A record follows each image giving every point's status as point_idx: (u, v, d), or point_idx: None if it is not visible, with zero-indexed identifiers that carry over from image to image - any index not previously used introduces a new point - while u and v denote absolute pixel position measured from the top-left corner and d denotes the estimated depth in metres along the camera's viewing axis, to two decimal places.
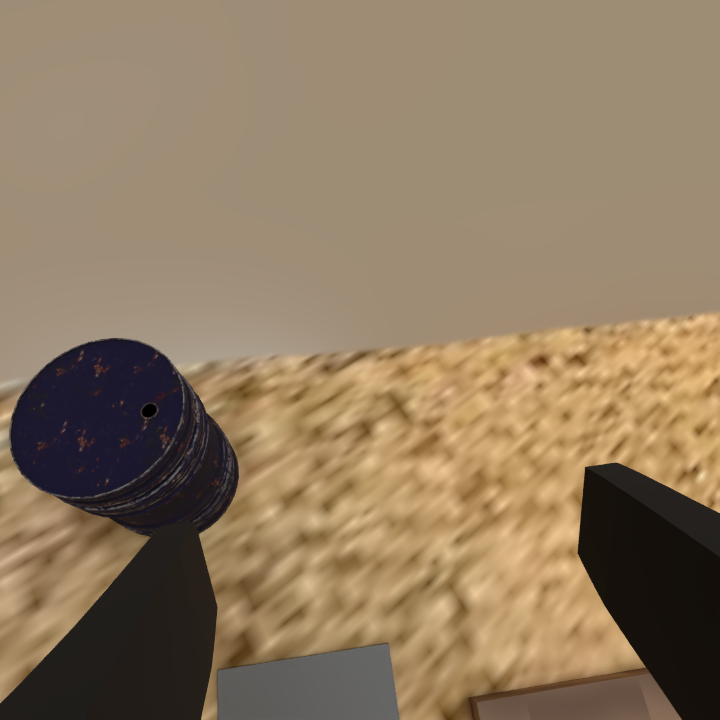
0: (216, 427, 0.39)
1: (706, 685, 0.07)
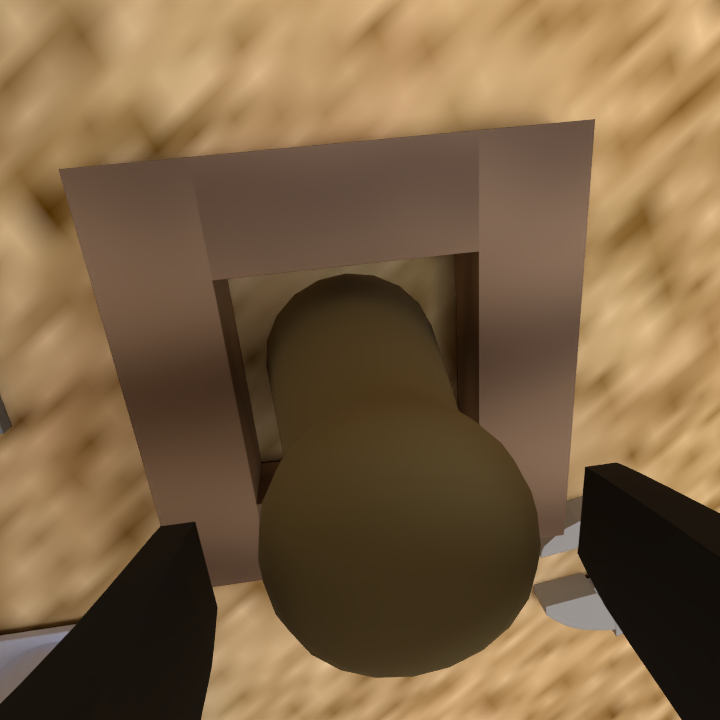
0: None
1: (706, 685, 0.07)
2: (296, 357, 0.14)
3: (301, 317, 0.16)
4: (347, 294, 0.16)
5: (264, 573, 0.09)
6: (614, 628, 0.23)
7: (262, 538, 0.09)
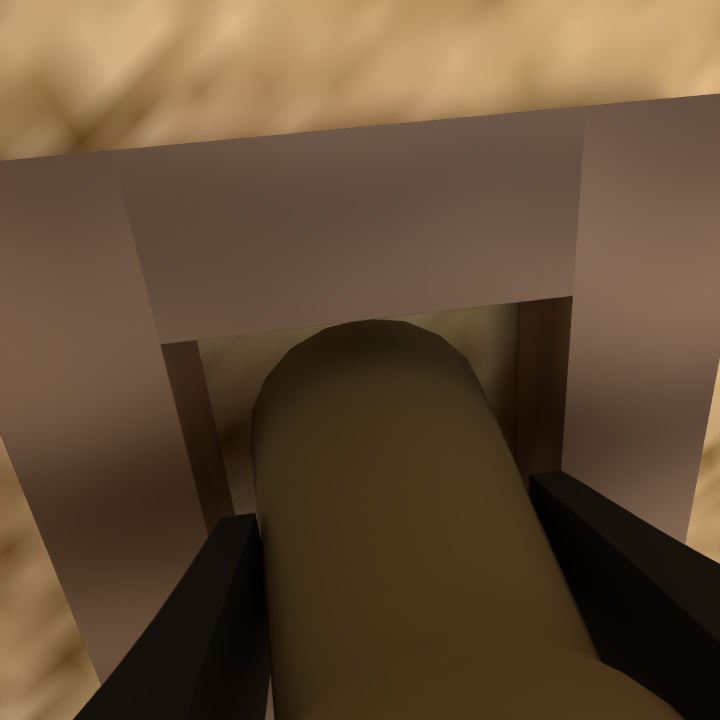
0: None
1: None
2: (291, 470, 0.09)
3: (300, 392, 0.10)
4: (369, 357, 0.11)
5: None
6: None
7: None
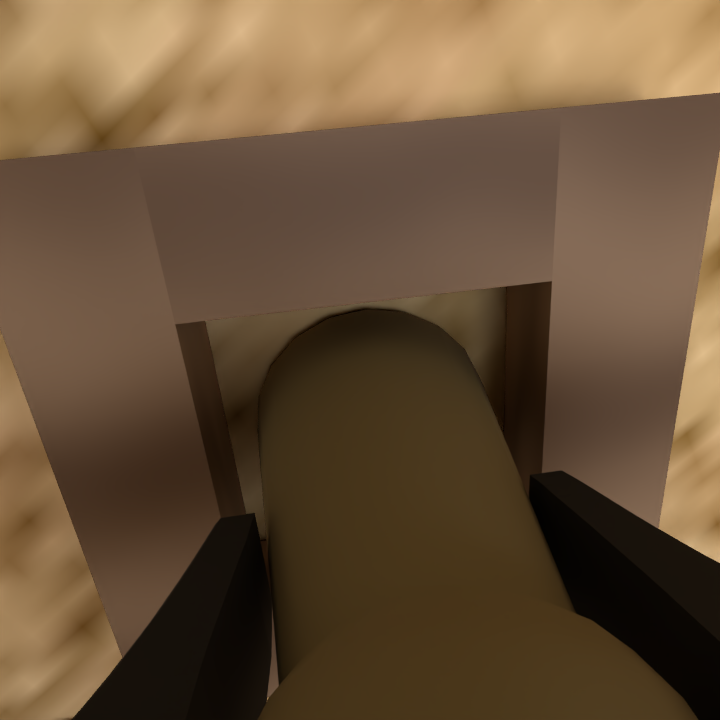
0: None
1: None
2: (294, 449, 0.09)
3: (304, 377, 0.11)
4: (370, 344, 0.11)
5: None
6: None
7: None
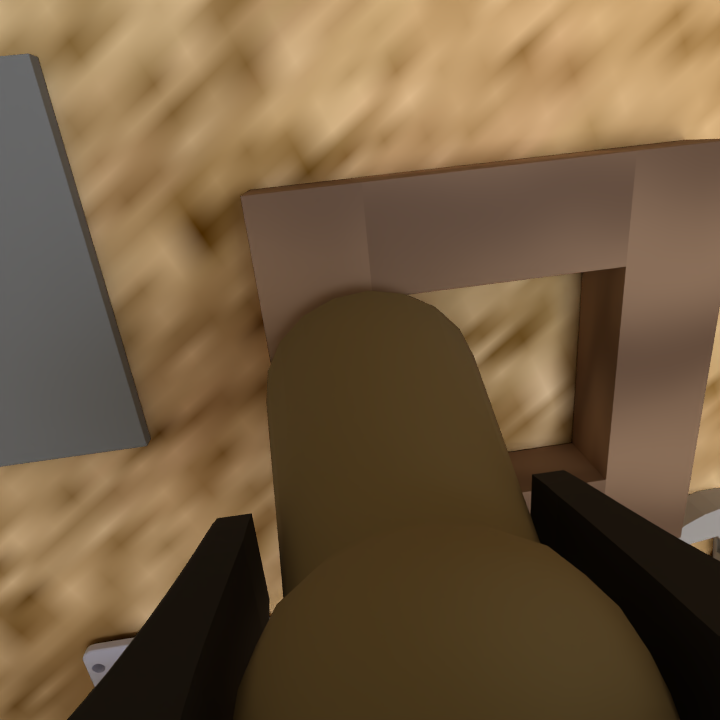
0: None
1: None
2: (300, 413, 0.10)
3: (309, 351, 0.12)
4: (370, 322, 0.12)
5: None
6: None
7: None
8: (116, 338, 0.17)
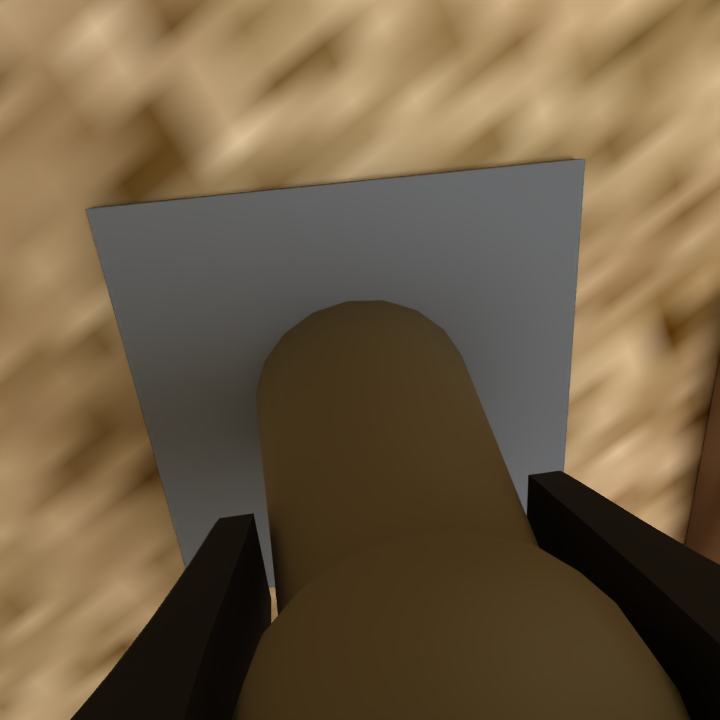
0: None
1: None
2: (285, 432, 0.10)
3: (291, 368, 0.12)
4: (349, 332, 0.12)
5: None
6: None
7: None
8: (563, 438, 0.16)
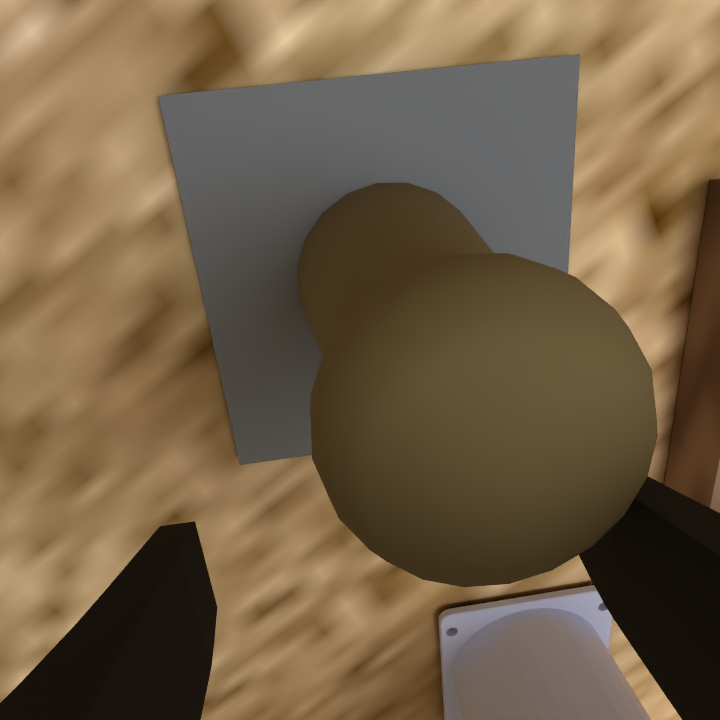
0: None
1: (706, 685, 0.07)
2: (331, 263, 0.12)
3: (332, 228, 0.14)
4: (381, 197, 0.14)
5: (321, 466, 0.07)
6: None
7: (315, 425, 0.07)
8: None
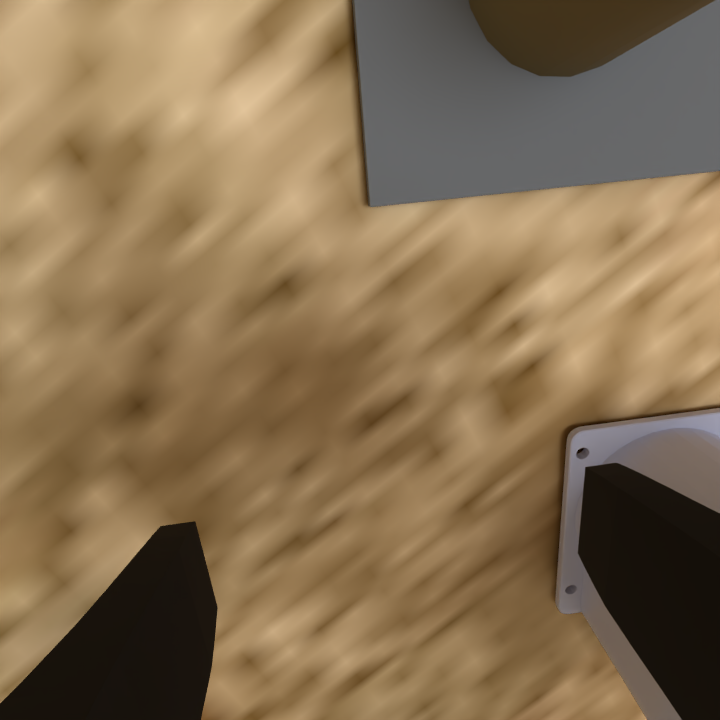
0: None
1: (706, 685, 0.07)
2: None
3: None
4: None
5: None
6: None
7: None
8: None
